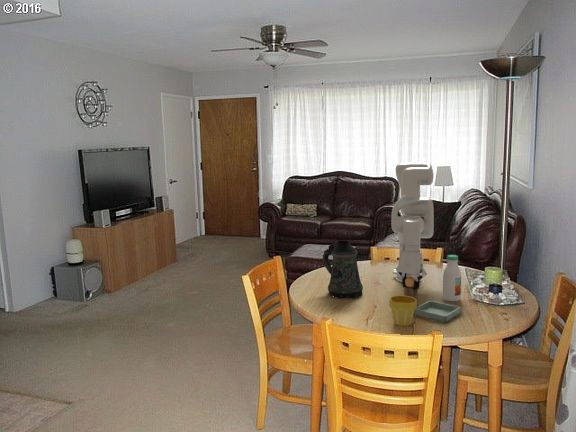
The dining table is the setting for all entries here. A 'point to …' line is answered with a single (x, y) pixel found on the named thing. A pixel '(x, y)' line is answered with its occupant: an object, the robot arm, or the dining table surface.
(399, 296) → the plant pot
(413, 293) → the wooden box
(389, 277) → the dining table surface
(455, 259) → the milk bottle
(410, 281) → the ball
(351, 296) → the beer stein
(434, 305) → the tray
